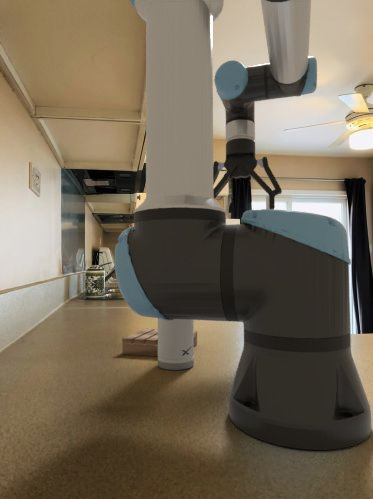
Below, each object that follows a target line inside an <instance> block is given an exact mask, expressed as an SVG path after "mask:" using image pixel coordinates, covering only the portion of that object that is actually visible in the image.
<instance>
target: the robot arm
mask: <svg viewBox="0 0 373 499" xmlns="http://www.w3.org/2000/svg"><path fill="white" fill-rule="evenodd" d="M128 1H129V2H130V4H131V5H132V6H133V7H134V8H135V10H136V12H137V14H138V15H139V16H140V18H141V19H142V20H143V21H144V22H145V60H146V61H145V100H146V101H145V108H146V109H145V119H146V120H145V168H146V169H145V188H146V189H145V199H144V200H143V202H142V203H140V205H138V207H136V208H135V209H134V210H133V226H129V227H127V228H126V229H124V230H122V231H121V233H120V234H119V236H118V238H117V243H116V244H115V248H114V259H113V260H114V271H115V278H116V282H117V286H118V289H119V291H120V293H121V296H122V298H123V300H124V301H125V302H126V304H127V306H128V307H129V308H130V310H132V312H134V313H135V314H136V315H139V316H141V317H145V318H152V319H153V318H154V319H158V318H162V319H164V320H167V321H170V320H174V319H186V320H194V321H208V322H209V321H213V322H214V321H215V322H237V323H238V322H239V323H240V322H241V323H242V324H243V347H242V348H243V349H242V351H241V355H240V358H239V362H238V364H237V368H236V371H235V374H234V377H233V379H232V380H233V381H232V384H231V387H230V391H229V396H228V402H229V403H228V406H229V407H228V410H229V412H228V415H229V419H230V420H231V422H232V423H233V424H234V425H235V427H237V428H238V429H240V430H241V431H242V432H244V433H246V434H247V435H249V436H251V437H254V438H256V439H258V440H261V441H263V442H265V443H271V444H274V445H277V446H283V447H286V448H293V449H299V450H315V451H319V450H320V451H323V450H324V451H325V450H326V451H328V450H339V449H344V448H349V447H352V446H356V445H358V444H361V443H363V442H364V441H365V440H367V439H368V438H369V437H370V435H371V432H372V413H371V412H372V410H371V406H370V405H371V404H370V403H369V398H368V397H367V394H366V392H365V389H364V388H365V387H364V385H363V383H362V379H361V377H360V375H359V374H360V373H359V372H358V369H357V367H356V362H355V361H354V357H353V354H352V345H351V344H352V341H351V310H350V309H351V308H350V307H351V306H350V303H351V302H350V272H349V270H350V268H349V267H350V266H349V265H351V264H352V260H351V258H350V252H349V244H348V242H349V241H348V233H347V230H346V228H345V226H344V225H343V224H342V222H340V221H339V220H337V219H335V218H333V217H331V216H327V215H323V214H318V213H312V212H306V211H299V210H298V211H297V210H289V209H288V210H286V209H275V203H276V202H275V201H276V200H275V198H276V196H277V195H281V194H282V192H283V191H282V188H281V186H280V184H279V182H278V181H277V179H276V177H275V175H274V173H273V172H272V170H271V168H270V166H269V161H268V158H267V156H263V157H262V158H259V159H257V158H256V141H255V140H256V123H255V121H256V120H255V110H256V109H255V103H256V102H261V101H267V100H275V99H283V98H292V97H301V96H303V95H305V96H306V95H310V94H314V92H315V91H316V90H317V88H318V87H317V85H318V83H317V82H318V62H317V61H318V60H317V58H316V57H314V56H309V54H310V52H309V50H310V32H311V28H310V27H311V11H312V7H311V6H312V0H260V2H261V3H260V4H261V11H262V16H263V17H262V18H263V19H262V20H263V26H264V34H265V39H266V47H267V53H268V60H269V63H264V64H257V65H252V66H245V65H244V64H243V63H242V62H241V61H237V60H228V61H225V62H223V63H222V64H220V66H219V67H218V68H217V70H216V72H215V74H213V68H214V67H213V22H215V21H216V20H217V19H218V18H219V16H220V14H221V13H222V11H223V7H224V0H128ZM213 75H214V77H213ZM213 78H214V79H213ZM213 81H214V82H213ZM213 83H214V84H213ZM214 85H215V90H216V93H217V96H218V97H219V98H220V100H221V102H222V104H223V107H224V111H225V141H226V143H225V161H224V162H220V161H216V160H215V161H214V101H213V100H214V94H213V93H214V92H213V90H214V88H213V86H214ZM258 165H259V167H260V168H262V169H263V170H264V172H265V174H266V176H267V177H268V179H269V181H270V182H271V185H272V186H273V188H274V189H273V190H272V188H271V187H270V186H269V185H268V184H267V183H266V182H265V181H264V180H263V178H261V177H260V175H258V173H257V172H256V170H255V169H256V167H257V166H258ZM223 168H225V170H226V172H225V173H224V175H223V176H222V178H221V179H220V180H219V181H218V183H217V184H216V185H215V183H216V181H217V179H218V177H219V175H220V172H221V171H222V170H223ZM249 177H251V178H252V179H253V180H254V181H255V182H256V183H257V184H258V185H259V186H260V188H262V190H264V191H265V193H267V195H265V209H264V208H262V209H249V210H246V211H244V212H243V213H242V215H241V216H242V217H241V218H240V223H239V224H226V223H227V222H226V221H227V218H226V217H227V216H226V214H227V212H226V210H225V209H224V207H222V205H220V204H219V203H218V202H219V201H218V200H217V199H216V198H217V197H218V196H219V194H220V193H221V192H222V190H223V189H224V188H225V187H226V185H227V184H228V183H229V182H230V181H231V180H232V179H235V180H236V179H241V178H243V179H247V178H249ZM214 185H215V187H214Z"/></svg>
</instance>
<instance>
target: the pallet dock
mask: <svg viewBox="0 0 373 499" xmlns="http://www.w3.org/2000/svg"><path fill="white" fill-rule="evenodd" d="M121 340H122V343H121V344H122V347H121V350H122V355H135V356H146V357H147V356H149V357H158V328H145V329H142V330H139V331H137V332H135V333H132V334H129V335H126V336H125V337H123V338H122V339H121ZM197 345H198V330H194V348H195V347H196V346H197Z"/></svg>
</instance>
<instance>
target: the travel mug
mask: <svg viewBox="0 0 373 499" xmlns="http://www.w3.org/2000/svg"><path fill="white" fill-rule="evenodd" d="M194 322H195V320H186V319H174V320H170V321H167V320H164V319H162V318H157V329H158V356H157V366H158V367H159V368H161V369H163V370H167V371H184V370H188V369H190V368H192V367H193V366H194V364H195V356H194V354H195V349H194V348H195V347H194V331H195V330H194V328H195V327H194V324H195V323H194Z"/></svg>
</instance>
